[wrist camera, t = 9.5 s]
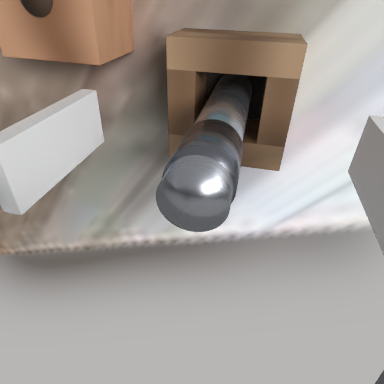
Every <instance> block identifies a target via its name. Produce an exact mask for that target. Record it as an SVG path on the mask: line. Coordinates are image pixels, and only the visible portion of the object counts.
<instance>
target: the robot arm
mask: <svg viewBox="0 0 384 384" xmlns="http://www.w3.org/2000/svg"><path fill="white" fill-rule="evenodd" d="M103 142H104V137H103V130H102V124H101V118H100V112H99V105H98V99H97V93H96V90H87V89H81V90H79V91H77V92H75V93H73V94H72V95H70V96H68V97H66V98H64V99H62V100H60V101H58V102H56V103H54V104H52V105H50V106H48V107H46V108H44V109H42V110H40V111H39V112H37V113H35V114H33V115H31V116H29V117H27V118H25V119H23V120H21V121H19V122H17V123H15V124H13V125H11V126H9V127H7V128H5V129H4V130H2V131H0V205H1V207H2V209H3V212H6V213H12V214H17V215H23V214H24V213H25V212H26V211H27V210H28V209H29V208H30V207H31V206H33V205H34V204H35V203H36V202H37V201H38V200H39V199H40V198H41V197H43V196H44V195H45V194H46V193H47V192H48V191H49V190H50V189H52V188H53V187H54V186H55V185H56V184H57V183H58V182H59V181H60V180H62V179H63V178H64V177H65V176H66V175H67V174H68V173H69V172H71V171H72V170H73V169H74V168H75V167H76V166H77V165H78V164H79V163H81V162H82V161H83V160H84V159H85V158H86V157H87V156H88V155H89V154H91V153H92V152H93V151H94V150H95V149H96V148H97V147H98V146H100V145H101V144H102V143H103ZM348 172H349V175H350V177H351V179H352V182H353V184H354V186H355V189H356V191H357V193H358V196H359V198H360V200H361V203H362V205H363V208H364V210H365V212H366V215H367V217H368V219H369V222H370V224H371V226H372V229H373V231H374V233H375V236H376V238H377V240H378V243H379V245H380V247H381V249H382V252H383V254H384V117H379V116H369V117H368V120H367V123H366V125H365V128H364V131H363V133H362V136H361V139H360V141H359V144H358V146H357V149H356V152H355V154H354V157H353V160H352V162H351V165H350V167H349V170H348ZM375 384H384V371H383V373H382V374H381V375H380V377H379V378H378V380H377V381H376V383H375Z"/></svg>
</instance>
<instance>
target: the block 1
mask: <svg viewBox="0 0 384 384" xmlns="http://www.w3.org/2000/svg"><path fill="white" fill-rule="evenodd" d="M0 47H1V50H2V54H3V56H5V57H16V58H27V59H38V60H48V61H59V62H70V63H81V64H91V65H102V64H104V63H107V62H109V61H111V60H114V59H116V58H118V57H120V56H123V55H125V54H127V53H130V52H132V51H134V43H133V28H132V14H131V0H0Z"/></svg>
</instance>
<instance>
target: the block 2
mask: <svg viewBox="0 0 384 384" xmlns="http://www.w3.org/2000/svg"><path fill="white" fill-rule="evenodd" d="M306 48H307V43H306V41H305V40H304V38H303V37H302V35H301V34H286V33H267V32H247V31H228V30H208V29H189V28H184V29H182V30H179V31H177V32H175V33H172V34H170V35H168V36H166V52H167V94H168V135H169V157H172V156H173V154H174V152H175V151H176V149H177V147H178V146H179V144H180V142H181V141H182V139H183V137H184V136H185V134H186V132H187V131H188V129H189V128H190V127H191V126H192V125H194V123H195V121H196V120H197V118H198V116H199V115H200V113H201V111H202V109H203V108H204V106H205V104H206V95H207V75H208V72H212V73H225V74H238V75H252V76H265V77H266V78H265V85H264V91H263V97H262V103H261V110H260V116H259V120H253V119H247V120H246V126H245V131H244V136H243V142H242V143H243V155H242V161H241V166H244V167H252V168H259V169H267V170H275V171H279V169H280V165H281V160H282V156H283V151H284V147H285V142H286V138H287V133H288V129H289V124H290V120H291V115H292V111H293V107H294V102H295V98H296V93H297V89H298V84H299V80H300V75H301V71H302V66H303V62H304V57H305V53H306Z"/></svg>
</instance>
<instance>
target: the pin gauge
mask: <svg viewBox="0 0 384 384" xmlns="http://www.w3.org/2000/svg"><path fill="white" fill-rule="evenodd" d="M251 94H252V86H251V83H250V81H249V79H248V78H247V77H246V76H245V75H238V74H225V75H224V76H223V77H222V78H221V79H220V80H219V82H218V83H217V85H216V87H215V89H214V90H213V92H212V94H211V95H210V97H209V99H208V101H207V102H206V104H205V106H204V108H203V109H202V111H201V113H200V115H199V116H198V118H197V120H196V121H195V123H194V125H192V126H191V127H190V128H189V129H188V131H187V132H186V134H185V136H184V137H183V139H182V141H181V142H180V144H179V146H178V147H177V149H176V151H175V152H174V154H173V156H172V157H171V159H170V161H169V162H168V164H167V166H166V168H165V169H164V172H163V177H162V180H161V182H160V184H159V186H158V188H157V192H156V201H157V205H158V207H159V209H160V211H161V213H162V214H163V215H164V217H165V218H166V219H167V220H168V221H170V222H171V223H172V224H174V225H176V226H177V227H179V228H182V229H185V230H188V231H194V232H204V231H209V230H212V229H215V228H217V227H218V226H220V225H221V224H222V223H223V222H224V221H225V220H226V218H227V217H228V214H229V210H230V205H231V203H232V202H233V200H234V198H235V194H236V189H237V184H238V178H239V172H240V166H241V161H242V155H243V143H242V142H243V136H244V131H245V126H246V120H247V115H248V110H249V104H250V99H251Z"/></svg>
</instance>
